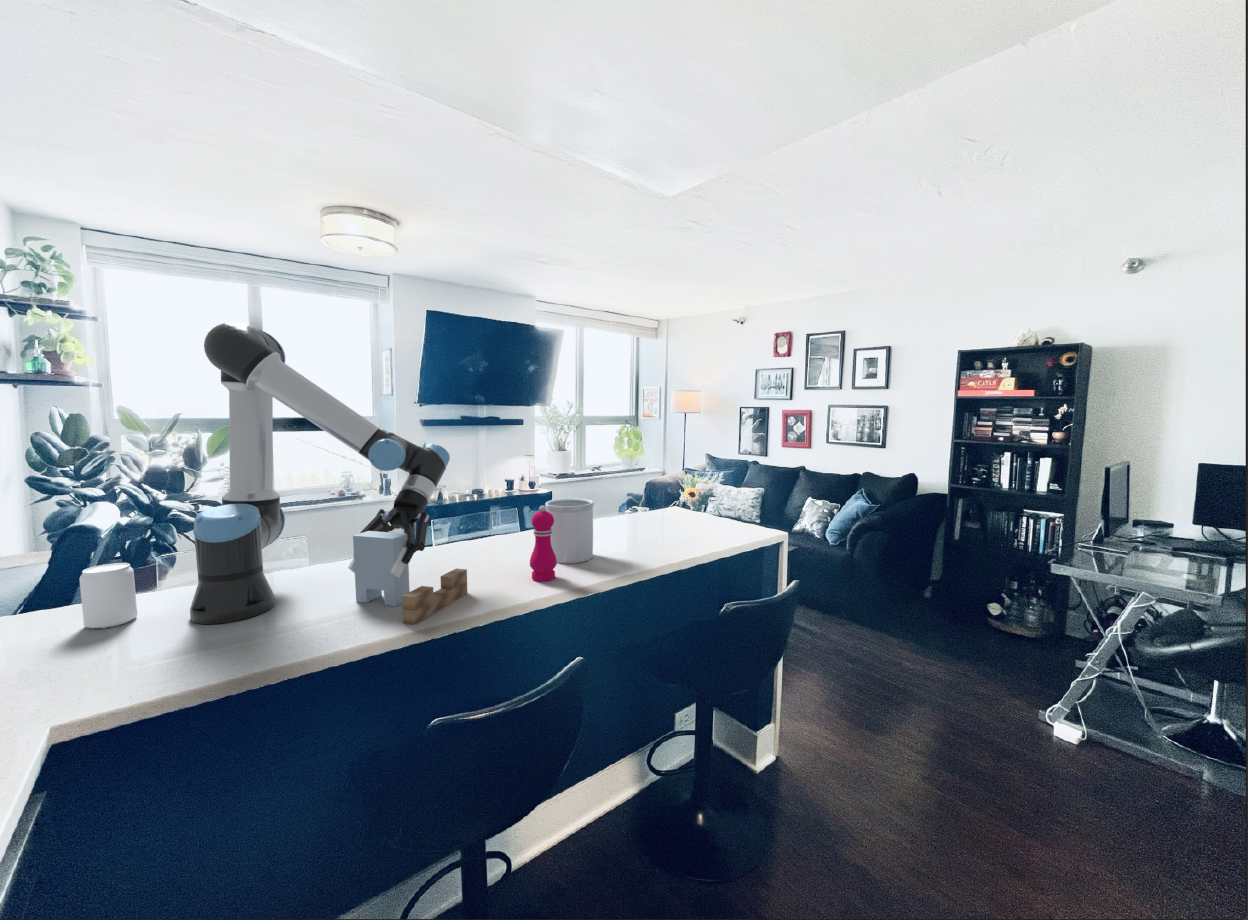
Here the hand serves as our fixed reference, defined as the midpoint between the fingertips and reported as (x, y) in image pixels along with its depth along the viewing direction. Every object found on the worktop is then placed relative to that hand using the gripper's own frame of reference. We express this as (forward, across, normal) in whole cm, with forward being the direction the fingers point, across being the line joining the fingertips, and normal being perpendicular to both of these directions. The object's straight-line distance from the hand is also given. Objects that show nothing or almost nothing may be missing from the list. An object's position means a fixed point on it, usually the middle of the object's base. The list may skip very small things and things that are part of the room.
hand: (373, 572), depth 120 cm
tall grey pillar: (+3, 0, -7) cm, 8 cm away
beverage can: (+22, +46, +11) cm, 53 cm away
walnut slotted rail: (+3, -15, -7) cm, 17 cm away
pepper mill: (-15, -30, -26) cm, 42 cm away
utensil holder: (-29, -30, -40) cm, 58 cm away
